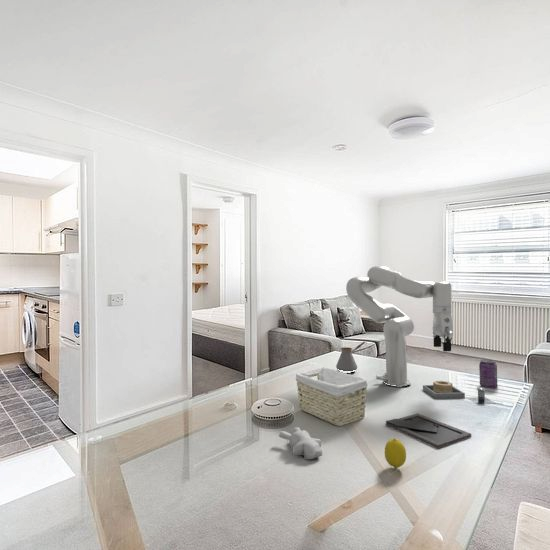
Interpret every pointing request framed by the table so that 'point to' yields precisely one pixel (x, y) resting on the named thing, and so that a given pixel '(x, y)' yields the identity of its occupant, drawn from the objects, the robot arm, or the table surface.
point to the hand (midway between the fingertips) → (442, 348)
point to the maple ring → (442, 387)
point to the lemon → (395, 453)
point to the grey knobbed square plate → (481, 397)
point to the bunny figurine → (303, 443)
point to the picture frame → (428, 430)
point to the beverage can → (488, 373)
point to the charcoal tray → (455, 394)
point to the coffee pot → (347, 359)
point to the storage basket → (332, 395)
